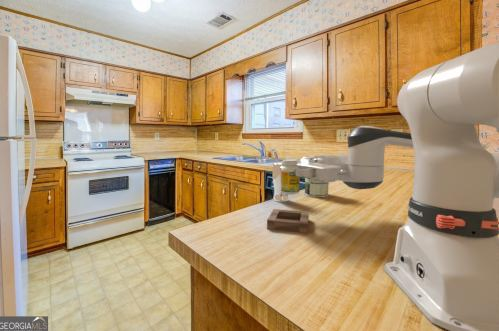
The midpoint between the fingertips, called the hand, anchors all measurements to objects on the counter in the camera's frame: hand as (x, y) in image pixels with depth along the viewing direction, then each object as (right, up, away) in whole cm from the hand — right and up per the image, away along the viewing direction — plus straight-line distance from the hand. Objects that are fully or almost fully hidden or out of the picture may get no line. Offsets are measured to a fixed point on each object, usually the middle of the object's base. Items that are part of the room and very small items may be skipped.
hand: (287, 171), depth 71 cm
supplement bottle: (+1, -6, +1) cm, 7 cm away
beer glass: (+2, -13, +30) cm, 32 cm away
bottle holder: (+1, -16, +2) cm, 16 cm away
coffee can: (+19, -12, +40) cm, 45 cm away
